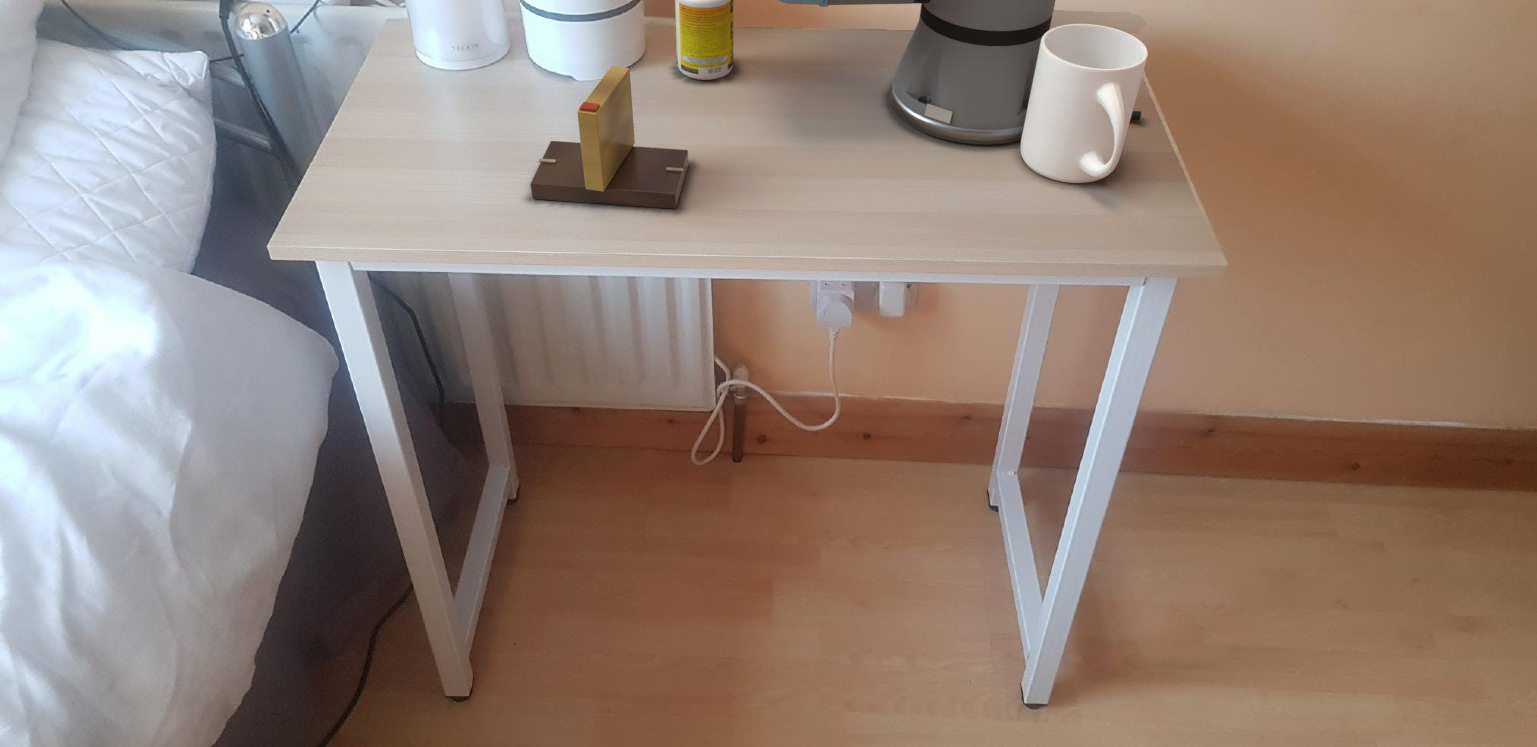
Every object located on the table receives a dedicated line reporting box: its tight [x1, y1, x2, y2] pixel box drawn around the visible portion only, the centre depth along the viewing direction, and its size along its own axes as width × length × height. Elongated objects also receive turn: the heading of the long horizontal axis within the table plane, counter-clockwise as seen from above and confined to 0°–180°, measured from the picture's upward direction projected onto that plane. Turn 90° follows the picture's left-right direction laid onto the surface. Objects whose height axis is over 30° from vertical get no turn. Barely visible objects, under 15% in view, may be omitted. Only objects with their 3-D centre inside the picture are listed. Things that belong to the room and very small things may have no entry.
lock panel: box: [530, 140, 689, 210], centre depth 91 cm, size 12×7×2 cm, turn 85°
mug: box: [1020, 23, 1149, 184], centre depth 91 cm, size 9×12×11 cm
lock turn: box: [576, 65, 636, 191], centre depth 88 cm, size 8×2×7 cm, turn 167°
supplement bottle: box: [674, 0, 734, 81], centre depth 104 cm, size 6×6×10 cm
